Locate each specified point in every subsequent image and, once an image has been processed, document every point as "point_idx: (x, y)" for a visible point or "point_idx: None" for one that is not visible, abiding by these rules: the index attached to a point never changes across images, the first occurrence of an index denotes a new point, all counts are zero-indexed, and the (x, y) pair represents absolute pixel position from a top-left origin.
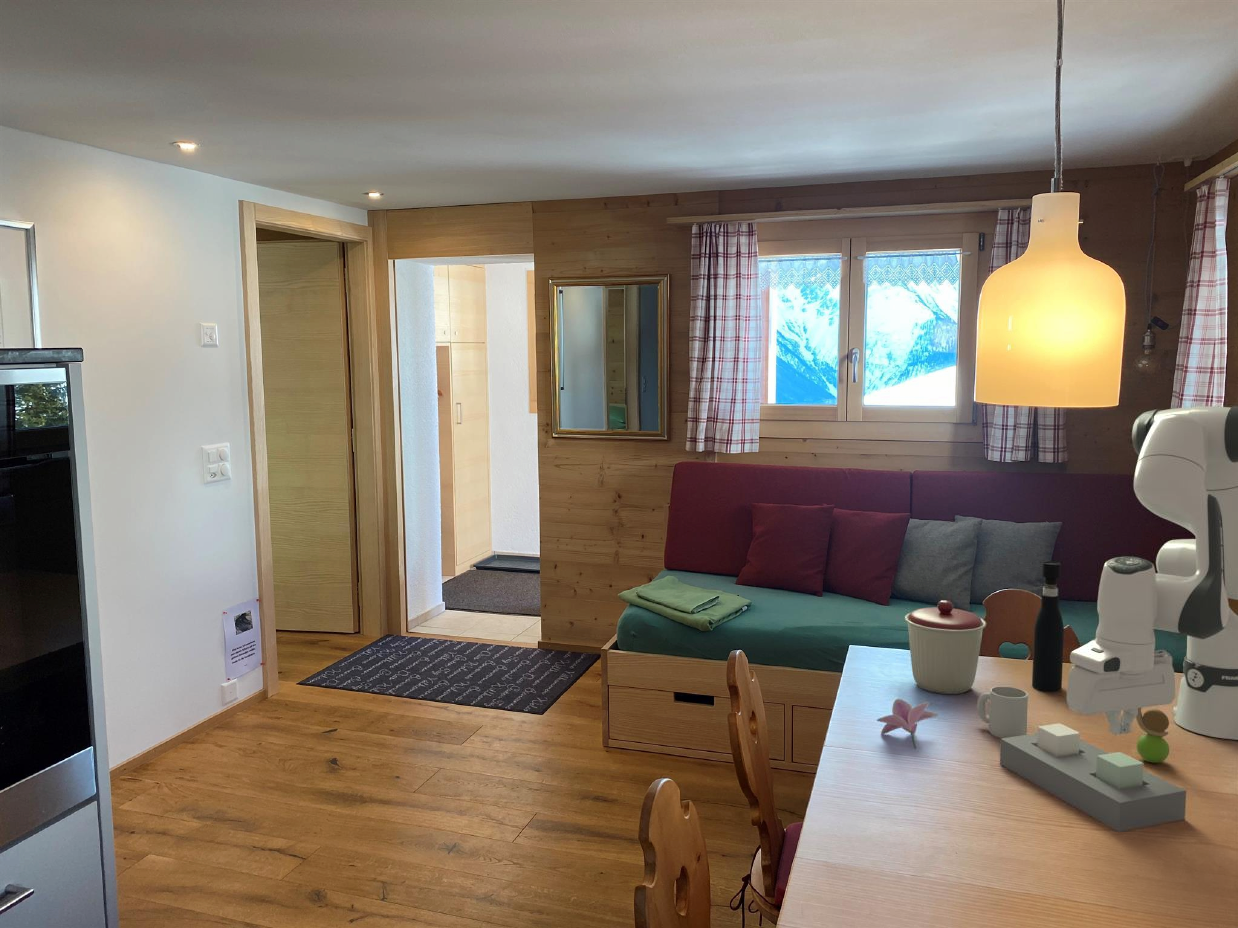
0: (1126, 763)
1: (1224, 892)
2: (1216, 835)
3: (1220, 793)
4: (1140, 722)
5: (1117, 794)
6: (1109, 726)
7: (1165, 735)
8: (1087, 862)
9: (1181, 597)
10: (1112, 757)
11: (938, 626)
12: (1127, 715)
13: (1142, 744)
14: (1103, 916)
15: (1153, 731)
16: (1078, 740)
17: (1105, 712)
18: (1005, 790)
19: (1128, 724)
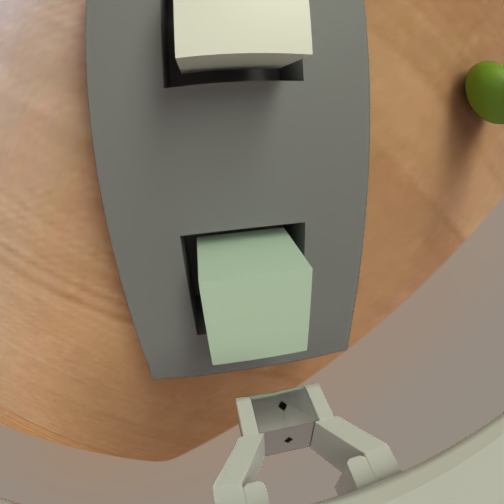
0: (253, 347)
1: (197, 444)
2: (318, 358)
3: (457, 238)
4: None
5: (174, 352)
6: (238, 415)
7: None
8: (61, 384)
9: None
10: (245, 304)
11: None
12: (341, 455)
13: (485, 85)
14: (47, 439)
15: None
16: (294, 59)
17: (214, 492)
18: (23, 118)
19: (310, 443)
